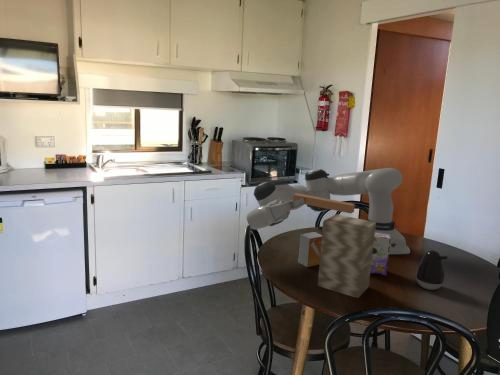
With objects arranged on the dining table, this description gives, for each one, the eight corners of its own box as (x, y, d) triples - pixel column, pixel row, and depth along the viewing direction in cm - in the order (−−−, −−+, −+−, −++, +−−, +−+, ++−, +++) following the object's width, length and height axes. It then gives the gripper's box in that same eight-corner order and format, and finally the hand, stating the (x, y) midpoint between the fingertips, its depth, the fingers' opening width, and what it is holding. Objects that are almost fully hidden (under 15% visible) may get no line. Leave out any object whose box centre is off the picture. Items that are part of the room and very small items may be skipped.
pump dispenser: (437, 295, 159) (443, 257, 155) (410, 286, 165) (415, 249, 162) (447, 287, 166) (452, 251, 163) (420, 279, 173) (425, 243, 169)
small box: (307, 267, 179) (309, 238, 176) (297, 262, 184) (299, 234, 181) (321, 264, 183) (324, 235, 181) (311, 259, 189) (314, 231, 186)
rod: (292, 201, 167) (293, 194, 166) (296, 200, 169) (296, 193, 169) (351, 213, 154) (351, 205, 153) (354, 211, 156) (354, 203, 156)
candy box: (386, 270, 180) (391, 234, 176) (386, 276, 174) (391, 238, 171) (353, 265, 184) (357, 229, 180) (352, 270, 178) (356, 233, 175)
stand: (317, 285, 162) (323, 221, 157) (330, 275, 172) (335, 214, 166) (358, 298, 154) (365, 230, 148) (368, 286, 164) (376, 222, 158)
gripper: (294, 211, 181) (321, 201, 173) (269, 222, 164) (298, 211, 156) (288, 198, 181) (315, 187, 174) (263, 207, 165) (291, 195, 157)
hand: (306, 198), depth 165 cm, fingers closed on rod, 3 cm apart
